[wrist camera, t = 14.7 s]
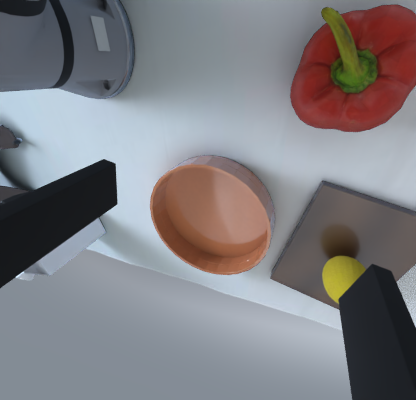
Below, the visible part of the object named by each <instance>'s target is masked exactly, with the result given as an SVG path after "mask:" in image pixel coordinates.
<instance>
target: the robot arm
mask: <svg viewBox="0 0 416 400" xmlns="http://www.w3.org/2000/svg"><path fill="white" fill-rule="evenodd" d="M133 64H134V42H133V35H132V31H131V27H130V23H129V20H128V17H127V15H126V12H125V10H124V8H123V6H122V4H121V2H120V1H119V0H0V92H5V91H20V90H35V89H48V88H59V89H62V90H65V91H68V92H72V93H75V94H78V95H82V96H85V97H88V98H95V99H103V98H110V97H113V96H116V95H117V94H119V93H120V92H121V91H122V90H123V89H124V88H125V86H126V85H127V83H128V81H129V79H130V76H131V73H132V69H133ZM115 205H117V185H116V164H115V163H112V162H110V161H107V160H105V159H103V160H101V161H99V162H96V163H94V164H92V165H90V166H87V167H85V168H83V169H81V170H78V171H76V172H74V173H72V174H69V175H67V176H65V177H63V178H61V179H58V180H56V181H54V182H52V183H49V184H47V185H45V186H43V187H40V188H38V189H36V190H34V191H29V192H25V193H21V194H17V195H14V196H11V197H9V198H7V199H4V200H2V201H1V202H0V288H1V287H2V286H4V285H5V284H6V283H8V282H9V281H11V280H12V279H13V278H15V277H16V276H18V275H19V274H21V273H22V272H23V271H25V270H26V269H28V268H29V267H30V266H32V265H33V264H35V263H36V262H37V261H39V260H40V259H42V258H43V257H44V256H46V255H47V254H49V253H50V252H51V251H53V250H54V249H55V248H57V247H58V246H60V245H61V244H62V243H64V242H65V241H67V240H68V239H69V238H71V237H72V236H74V235H75V234H76V233H78V232H79V231H81V230H82V229H83V228H85V227H86V226H88V225H89V224H90V223H92V222H93V221H95V220H96V219H97V218H99V217H100V216H102V215H103V214H104V213H106V212H107V211H108V210H110V209H111V208H113V207H114V206H115ZM338 302H339V309H340V316H341V323H342V330H343V337H344V344H345V350H346V358H347V365H348V372H349V379H350V386H351V394H352V400H416V328H415V325H414V323H413V320H412V318H411V316H410V313H409V311H408V309H407V306H406V304H405V302H404V299H403V297H402V295H401V292H400V290H399V288H398V285H397V283H396V281H395V278H394V276H393V273H392V271H390V270H388V269H385V268H382V267H380V266H377V265H375V264H371V265H370V266H369V267H368V268H367V269H366V270H365V272H364V273H363V274H362V275H361V276H360V277H359V278H358V279H357V280H356V281H355V282H354V283H353V284H352V285H351V286H350V287H349V288H348V289H347V290H346V291H345V292H344V294H343V295H342V296H341V297H340V298H339V299H338Z"/></svg>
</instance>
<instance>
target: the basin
mask: <svg viewBox="0 0 416 400" xmlns="http://www.w3.org/2000/svg"><path fill="white" fill-rule="evenodd" d="M150 210H151V217H152V220H153V223H154V226H155V229H156V231H157V232H158V234H159V236H160V238H161V239H162V241H163V242H164V243H165V245H166V246H167V247H168V248H169V249H170V250H171V251H172V252H173V253H174V254H175V255H176V256H178V257H179V258H180V259H182V260H183V261H184V262H186V263H188V264H189V265H191V266H193V267H195V268H197V269H200V270H202V271H205V272H209V273H213V274H221V275H231V274H239V273H242V272H245V271H248V270H250V269H251V268H253V267H254V266H256V265H257V264H258V263H259V262H260V261H261V260H262V259H263V258H264V257H265V255H266V253H267V251H268V249H269V246H270V241H271V237H272V233H273V228H274V223H275V213H274V207H273V203H272V200H271V198H270V195H269V193H268V191H267V190H266V188H265V186H264V185H263V184H262V182H261V181H260V180H259V179H258V178H257V177H256V176H255V175H254V174H253V173H252V172H251V171H250V170H248V169H247V168H246V167H244V166H242V165H241V164H239V163H237V162H235V161H232V160H230V159H227V158H223V157H219V156H212V155H204V156H196V157H193V158H190V159H188V160H185V161H183V162H181V163H180V164H178V165H177V166H175V167H174V168H172V169H171V170H169V171H168V172H167V173H165V174H164V175H163V176H162V177H161V178H160V179H159V180H158V182H157V183H156V185H155V186H154V189H153V192H152V195H151V201H150Z"/></svg>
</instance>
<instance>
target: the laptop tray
mask: <svg viewBox="0 0 416 400" xmlns="http://www.w3.org/2000/svg"><path fill="white" fill-rule="evenodd" d="M21 142H22V139H21V138H16V137H15V136H14V134H13V133H12V132H11V131H10V130H9V129H8V128H6V127H4V126H3V125H0V149H10V148H17V147H18V146H19V143H21ZM25 192H29V191H28V190H23V189H18V188H13V187H6V186H0V202H1V201H2V200H4V199H7V198H9V197H11V196H14V195H17V194H21V193H25Z"/></svg>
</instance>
